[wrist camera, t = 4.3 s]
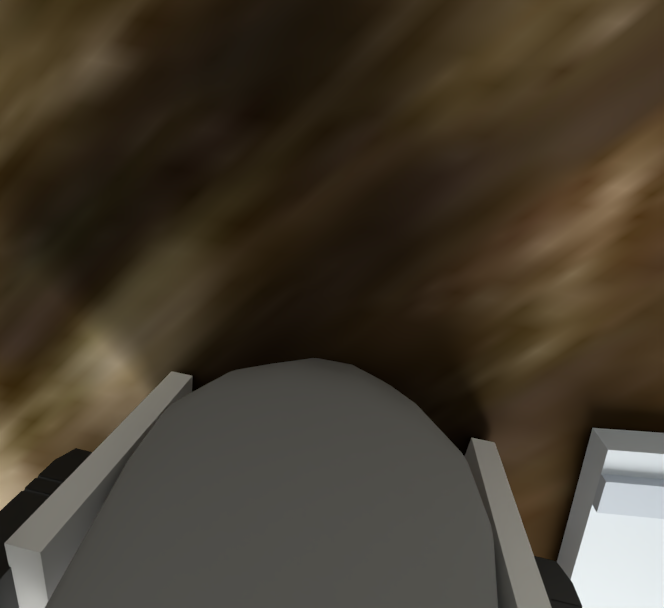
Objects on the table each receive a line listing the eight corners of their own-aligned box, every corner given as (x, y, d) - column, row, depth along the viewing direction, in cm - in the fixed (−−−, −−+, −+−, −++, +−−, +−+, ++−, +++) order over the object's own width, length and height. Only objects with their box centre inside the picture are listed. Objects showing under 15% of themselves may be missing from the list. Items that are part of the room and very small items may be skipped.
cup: (446, 287, 12) (642, 797, 3) (477, 527, 15) (620, 1154, 6) (156, 333, 14) (-328, 722, 4) (237, 537, 17) (48, 1019, 8)
